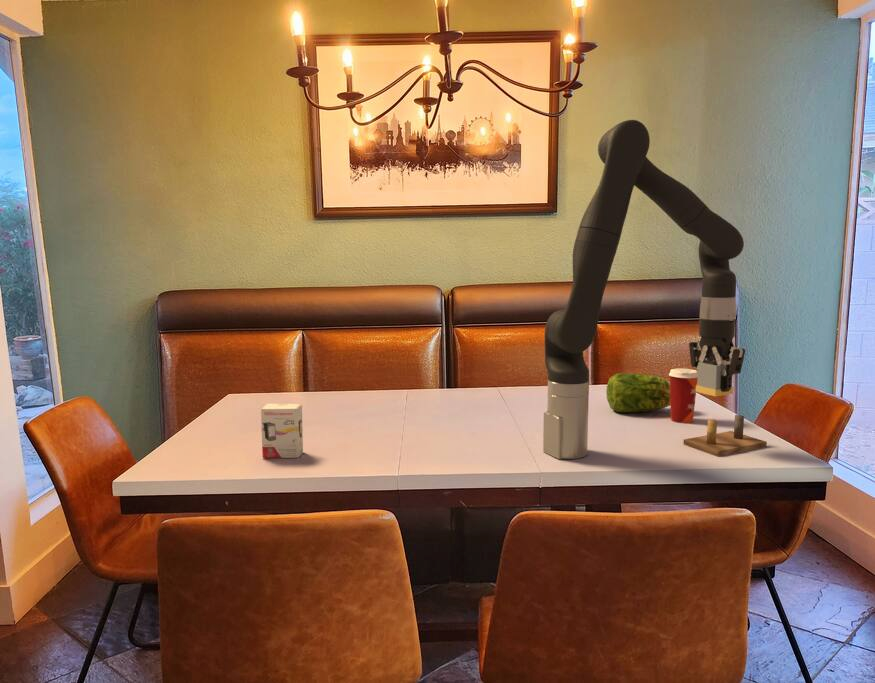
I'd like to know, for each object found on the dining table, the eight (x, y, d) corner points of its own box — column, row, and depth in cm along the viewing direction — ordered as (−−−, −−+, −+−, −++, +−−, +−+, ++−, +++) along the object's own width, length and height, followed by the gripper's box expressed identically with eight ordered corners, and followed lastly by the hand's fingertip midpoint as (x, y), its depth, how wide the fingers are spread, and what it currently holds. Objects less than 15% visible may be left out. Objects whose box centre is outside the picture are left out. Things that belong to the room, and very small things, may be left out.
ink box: (261, 459, 139) (258, 409, 138) (267, 451, 144) (265, 403, 143) (299, 458, 139) (297, 408, 138) (304, 451, 144) (302, 403, 143)
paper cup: (699, 424, 163) (702, 373, 161) (669, 423, 164) (671, 372, 162) (693, 417, 170) (695, 368, 168) (664, 416, 172) (666, 367, 170)
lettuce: (685, 416, 171) (687, 377, 169) (612, 417, 172) (613, 377, 170) (671, 406, 182) (673, 369, 181) (602, 406, 183) (603, 370, 181)
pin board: (717, 456, 137) (719, 427, 136) (683, 444, 146) (684, 417, 145) (766, 446, 144) (768, 419, 143) (730, 435, 153) (732, 409, 152)
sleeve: (715, 396, 138) (716, 366, 137) (695, 391, 143) (696, 362, 142) (732, 393, 140) (734, 363, 139) (712, 389, 145) (714, 360, 144)
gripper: (680, 315, 144) (678, 384, 146) (732, 320, 131) (728, 396, 133) (704, 313, 147) (701, 381, 149) (756, 318, 134) (752, 393, 136)
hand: (714, 388), depth 141 cm, fingers closed on sleeve, 5 cm apart
